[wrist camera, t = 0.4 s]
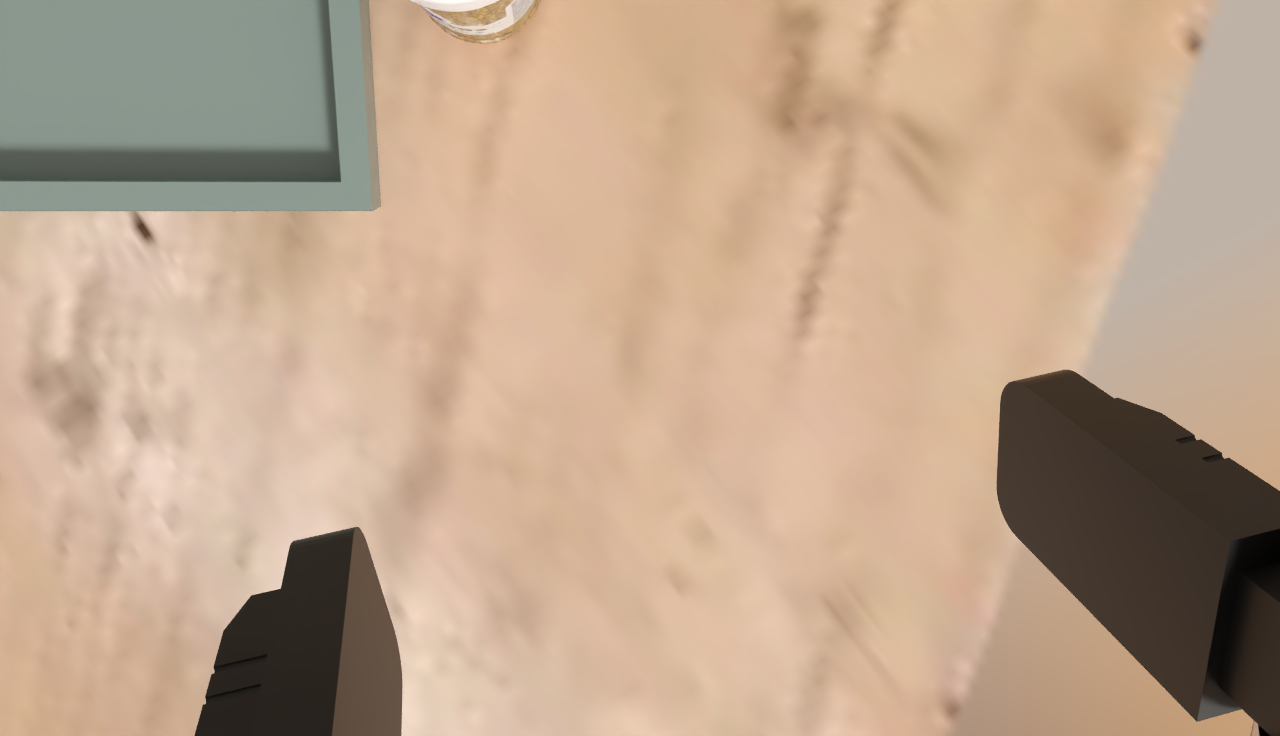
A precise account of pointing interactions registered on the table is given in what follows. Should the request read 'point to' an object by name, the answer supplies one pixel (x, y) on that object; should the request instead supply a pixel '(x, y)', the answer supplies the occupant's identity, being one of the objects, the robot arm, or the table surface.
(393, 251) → the table surface
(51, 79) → the tray
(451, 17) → the spice jar
